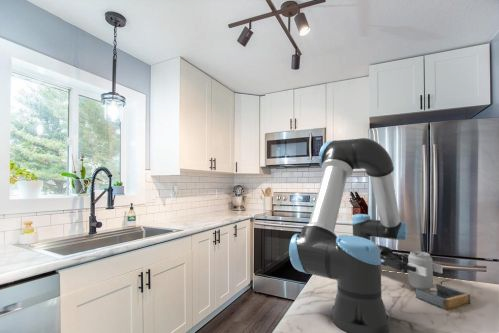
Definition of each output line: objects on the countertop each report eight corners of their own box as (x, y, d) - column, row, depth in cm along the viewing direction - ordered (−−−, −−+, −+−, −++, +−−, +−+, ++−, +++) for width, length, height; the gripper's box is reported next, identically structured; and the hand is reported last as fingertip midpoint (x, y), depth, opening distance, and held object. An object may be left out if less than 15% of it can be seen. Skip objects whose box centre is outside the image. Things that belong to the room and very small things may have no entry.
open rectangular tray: (446, 310, 83) (446, 300, 83) (415, 297, 92) (415, 288, 93) (470, 303, 88) (470, 294, 88) (438, 292, 97) (438, 283, 97)
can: (420, 281, 102) (419, 249, 103) (438, 289, 95) (437, 254, 95) (404, 283, 100) (403, 251, 101) (421, 291, 93) (420, 256, 93)
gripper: (396, 260, 118) (453, 277, 97) (361, 266, 110) (414, 286, 89) (396, 243, 118) (452, 256, 97) (360, 247, 111) (413, 263, 90)
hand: (434, 270), depth 93 cm, fingers closed on can, 7 cm apart
